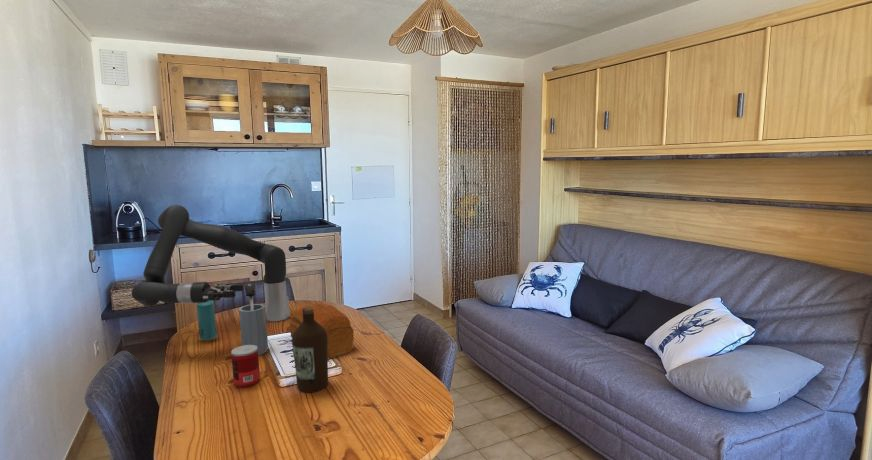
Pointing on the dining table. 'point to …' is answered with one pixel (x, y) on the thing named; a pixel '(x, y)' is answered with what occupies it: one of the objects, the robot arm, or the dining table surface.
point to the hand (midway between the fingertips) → (239, 290)
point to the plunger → (250, 293)
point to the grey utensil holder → (254, 327)
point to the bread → (329, 327)
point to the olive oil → (310, 354)
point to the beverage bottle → (206, 320)
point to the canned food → (245, 365)
